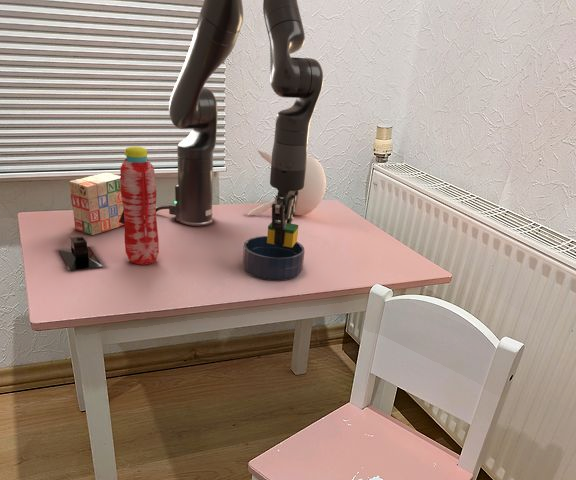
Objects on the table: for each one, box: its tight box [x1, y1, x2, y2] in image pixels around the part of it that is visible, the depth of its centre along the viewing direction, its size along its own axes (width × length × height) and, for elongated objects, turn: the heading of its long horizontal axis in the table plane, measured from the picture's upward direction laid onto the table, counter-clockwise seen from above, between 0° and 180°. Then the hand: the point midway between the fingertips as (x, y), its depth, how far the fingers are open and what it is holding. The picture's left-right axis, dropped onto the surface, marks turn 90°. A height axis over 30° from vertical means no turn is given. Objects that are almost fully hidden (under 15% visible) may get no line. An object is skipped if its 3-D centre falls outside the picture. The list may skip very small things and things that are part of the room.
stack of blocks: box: [69, 172, 125, 236], centre depth 150 cm, size 21×6×12 cm, turn 148°
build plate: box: [58, 236, 104, 272], centre depth 131 cm, size 12×7×5 cm, turn 29°
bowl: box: [242, 235, 306, 282], centre depth 135 cm, size 14×14×6 cm
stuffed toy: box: [246, 150, 332, 216], centre depth 168 cm, size 19×14×25 cm
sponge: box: [266, 220, 299, 248], centre depth 131 cm, size 6×4×4 cm
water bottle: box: [119, 146, 160, 266], centre depth 128 cm, size 12×8×25 cm, turn 28°
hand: (281, 240), depth 132 cm, fingers closed on sponge, 4 cm apart
